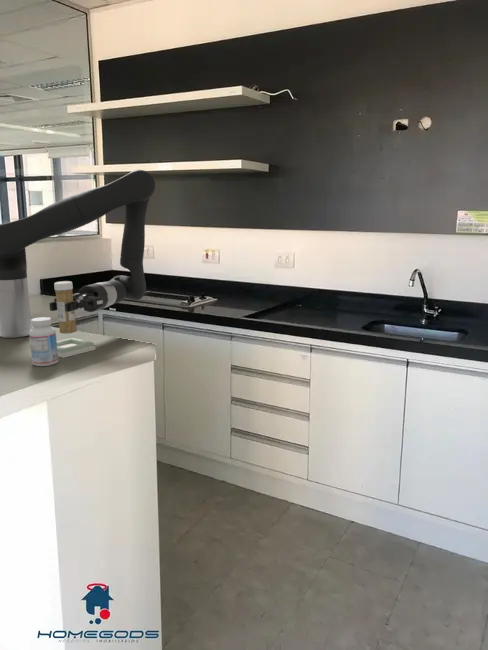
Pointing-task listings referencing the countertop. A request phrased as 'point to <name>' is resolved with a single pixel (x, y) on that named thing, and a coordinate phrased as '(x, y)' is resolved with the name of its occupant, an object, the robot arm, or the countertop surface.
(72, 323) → the sprinkles bottle
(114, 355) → the countertop surface
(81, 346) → the socket plate
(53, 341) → the pill bottle
